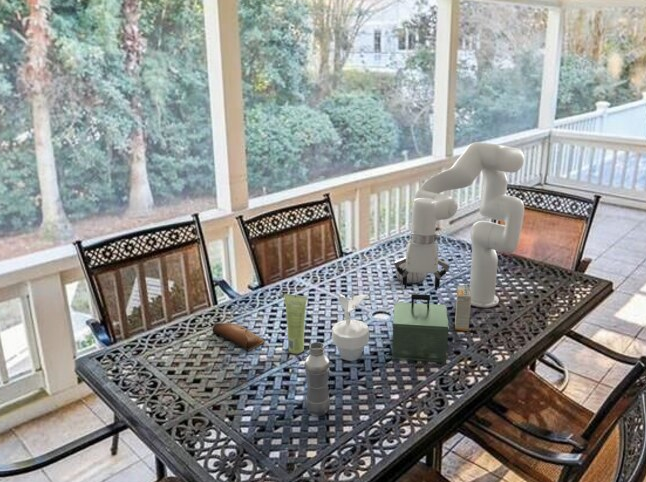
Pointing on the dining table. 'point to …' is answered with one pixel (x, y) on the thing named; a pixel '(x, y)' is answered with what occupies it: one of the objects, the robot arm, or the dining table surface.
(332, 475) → the dining table surface
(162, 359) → the dining table surface
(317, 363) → the plastic bottle
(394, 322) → the bin lid
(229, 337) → the sunglasses case
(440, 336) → the green storage bin
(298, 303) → the tube
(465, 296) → the supplement box
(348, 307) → the potted plant
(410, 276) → the sea urchin shell
